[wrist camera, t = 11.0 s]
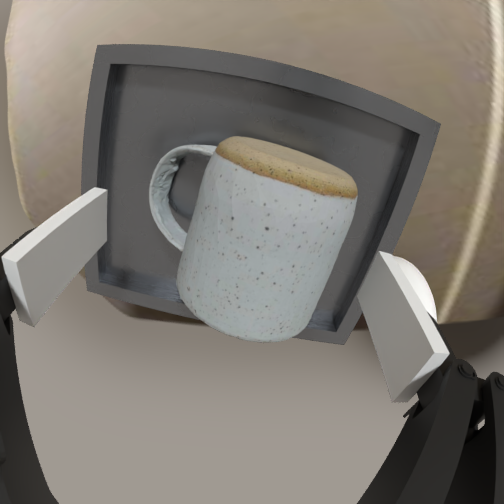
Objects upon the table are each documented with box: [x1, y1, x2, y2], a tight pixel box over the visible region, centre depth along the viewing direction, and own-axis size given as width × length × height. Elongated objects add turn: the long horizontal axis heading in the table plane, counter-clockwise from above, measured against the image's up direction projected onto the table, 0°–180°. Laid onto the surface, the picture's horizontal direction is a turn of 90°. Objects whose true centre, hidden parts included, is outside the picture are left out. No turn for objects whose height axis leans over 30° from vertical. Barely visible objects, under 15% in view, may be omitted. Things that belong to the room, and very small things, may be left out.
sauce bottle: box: [393, 256, 437, 322], centre depth 28 cm, size 8×8×18 cm
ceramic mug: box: [149, 136, 358, 342], centre depth 15 cm, size 11×8×8 cm
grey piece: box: [81, 44, 441, 345], centre depth 24 cm, size 21×17×15 cm
